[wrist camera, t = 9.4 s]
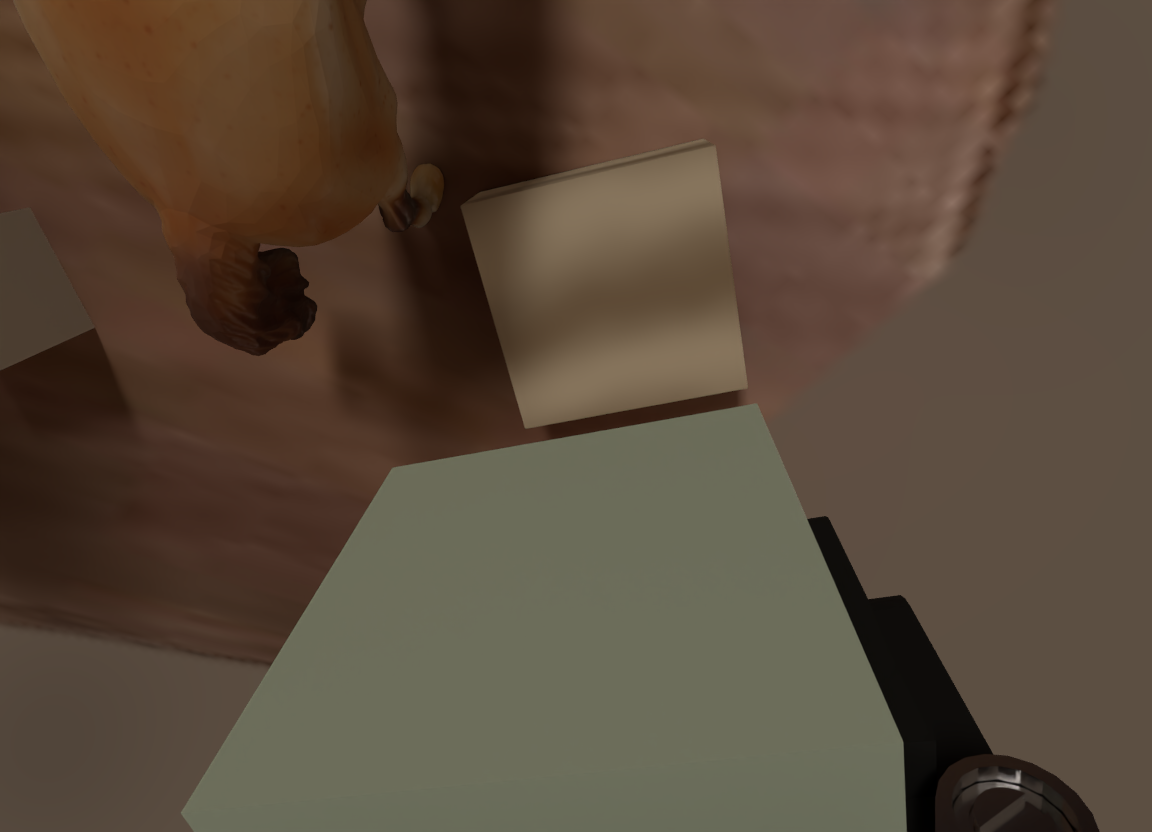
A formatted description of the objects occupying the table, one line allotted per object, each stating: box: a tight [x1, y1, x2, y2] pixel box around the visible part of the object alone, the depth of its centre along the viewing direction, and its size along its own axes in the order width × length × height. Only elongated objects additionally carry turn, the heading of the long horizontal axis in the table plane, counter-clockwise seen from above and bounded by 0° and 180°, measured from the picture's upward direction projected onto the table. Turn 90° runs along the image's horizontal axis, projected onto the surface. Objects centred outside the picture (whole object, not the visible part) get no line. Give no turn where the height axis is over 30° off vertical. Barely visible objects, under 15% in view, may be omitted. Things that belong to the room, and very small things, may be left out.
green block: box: [181, 404, 907, 832], centre depth 9 cm, size 6×6×6 cm
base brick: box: [460, 139, 748, 429], centre depth 30 cm, size 10×10×4 cm
